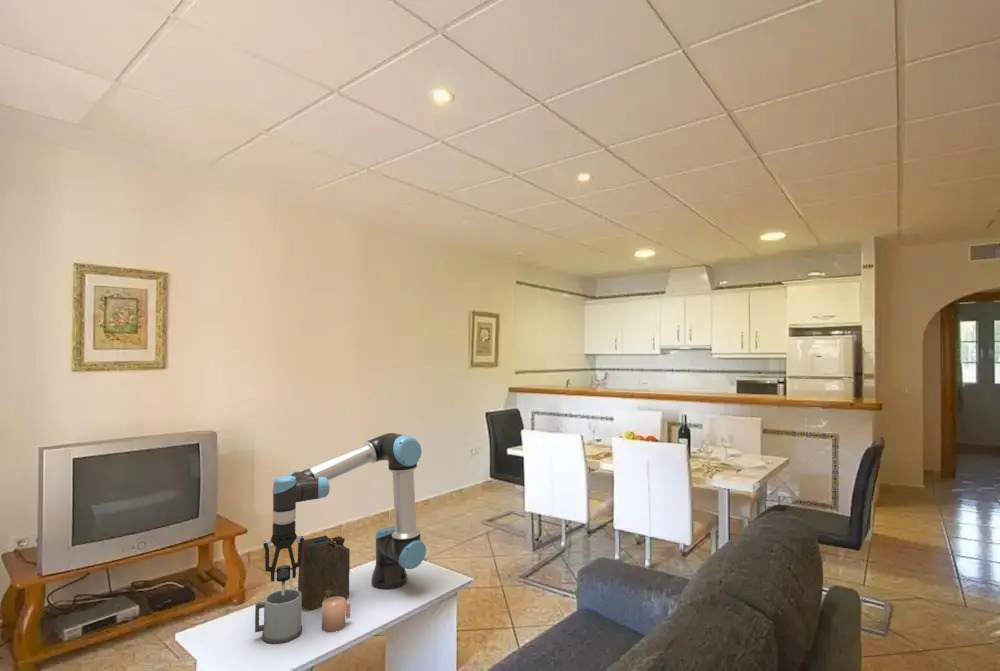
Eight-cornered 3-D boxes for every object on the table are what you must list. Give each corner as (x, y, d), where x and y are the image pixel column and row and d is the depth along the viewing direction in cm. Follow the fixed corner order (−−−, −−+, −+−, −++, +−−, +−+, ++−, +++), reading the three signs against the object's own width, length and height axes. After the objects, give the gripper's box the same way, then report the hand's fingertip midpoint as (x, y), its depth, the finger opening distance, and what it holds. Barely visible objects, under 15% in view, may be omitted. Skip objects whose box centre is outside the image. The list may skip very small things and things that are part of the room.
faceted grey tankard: (300, 622, 195) (301, 586, 196) (303, 639, 183) (304, 600, 184) (254, 631, 189) (255, 593, 189) (254, 649, 177) (255, 609, 177)
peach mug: (347, 618, 198) (348, 593, 198) (351, 628, 190) (351, 602, 191) (320, 624, 194) (321, 598, 194) (323, 634, 186) (323, 608, 187)
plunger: (295, 611, 193) (296, 560, 194) (297, 623, 184) (298, 569, 185) (268, 616, 189) (269, 565, 190) (268, 628, 181) (269, 574, 181)
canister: (303, 613, 202) (304, 546, 203) (296, 605, 209) (297, 540, 210) (350, 598, 214) (351, 535, 215) (342, 591, 220) (342, 530, 222)
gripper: (309, 515, 195) (308, 580, 194) (257, 521, 188) (255, 589, 187) (311, 521, 188) (310, 588, 187) (257, 527, 181) (255, 597, 180)
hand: (283, 588), depth 187 cm, fingers closed on plunger, 4 cm apart
